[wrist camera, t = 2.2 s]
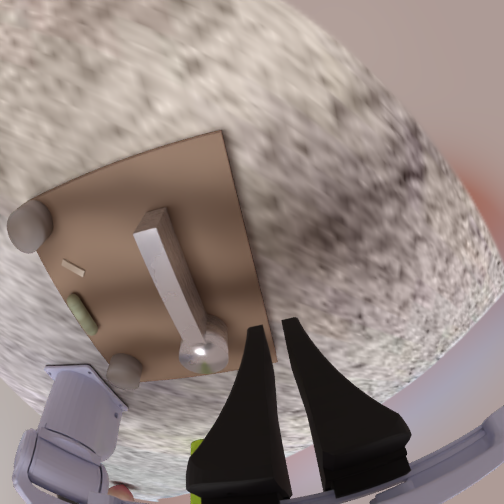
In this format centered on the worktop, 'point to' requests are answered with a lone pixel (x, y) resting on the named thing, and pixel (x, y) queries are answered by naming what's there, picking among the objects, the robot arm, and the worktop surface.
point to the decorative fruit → (121, 492)
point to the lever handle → (181, 295)
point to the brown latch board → (132, 263)
